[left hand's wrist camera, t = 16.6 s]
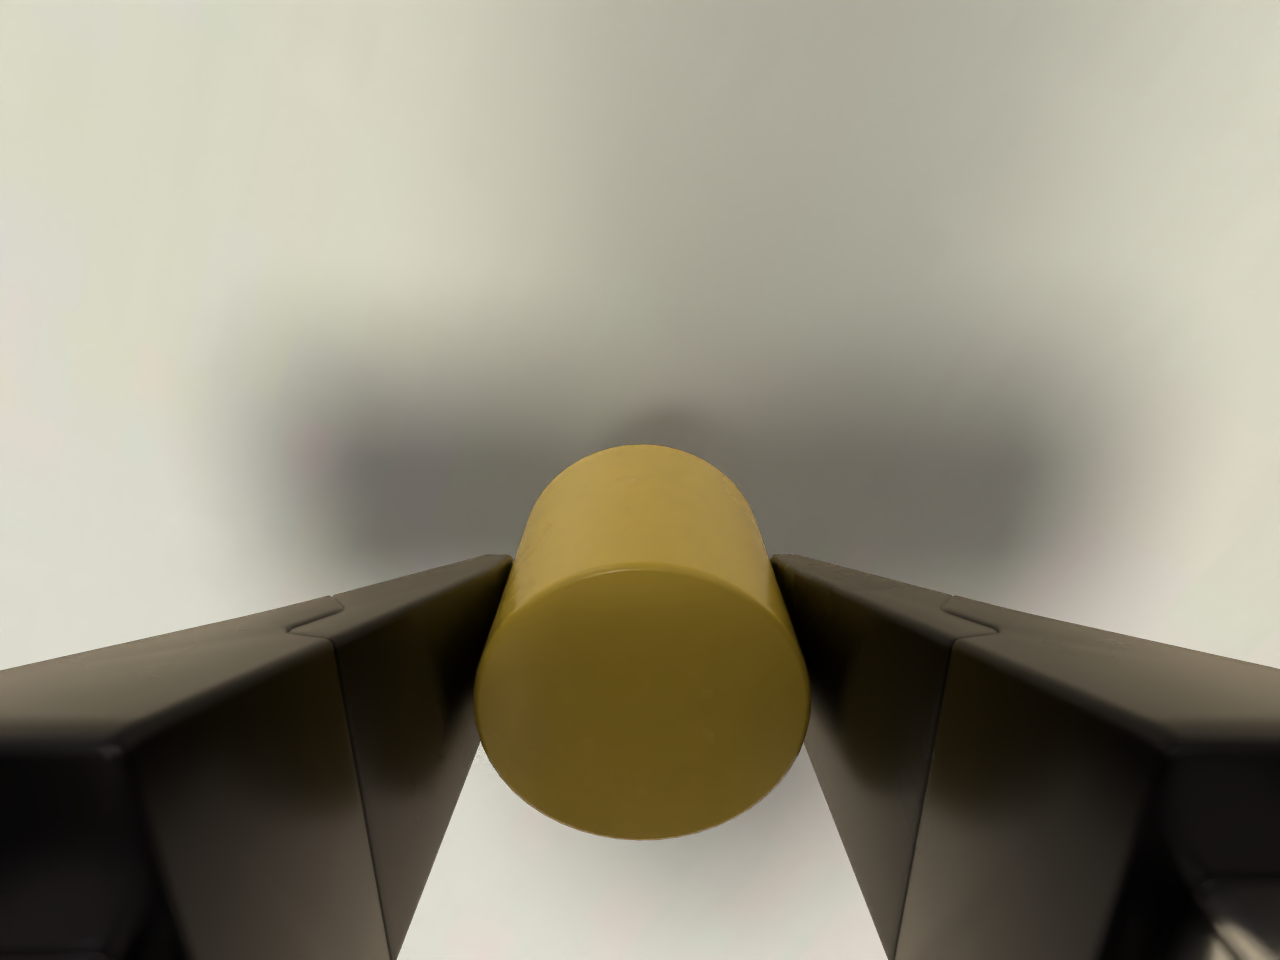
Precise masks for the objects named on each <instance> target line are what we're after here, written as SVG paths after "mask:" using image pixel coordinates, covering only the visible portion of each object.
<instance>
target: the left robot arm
mask: <svg viewBox="0 0 1280 960" xmlns="http://www.w3.org/2000/svg"><path fill="white" fill-rule="evenodd" d="M770 563H771V565H772V568H773V571H774V574H775V577H776V580H777V582H778V585H779V588H780V591H781V594H782V597H783V599H784V602H785V605H786V608H787V611H788V614H789V616H790V619H791V622H792V625H793V628H794V631H795V633H796V636H797V639H798V642H799V645H800V647H801V650H802V653H803V656H804V659H805V662H806V666H807V670H808V673H809V677H810V685H811V694H812V701H811V715H810V720H809V725H808V729H807V733H806V736H805V739H804V745H805V747H806V750H807V752H808V755H809V757H810V760H811V763H812V765H813V768H814V770H815V773H816V775H817V778H818V781H819V783H820V786H821V788H822V791H823V793H824V796H825V799H826V801H827V804H828V806H829V809H830V811H831V814H832V817H833V819H834V822H835V824H836V827H837V829H838V832H839V835H840V837H841V840H842V842H843V845H844V847H845V850H846V853H847V855H848V858H849V860H850V863H851V865H852V868H853V871H854V873H855V876H856V878H857V881H858V883H859V886H860V889H861V891H862V894H863V896H864V899H865V901H866V904H867V907H868V909H869V912H870V914H871V917H872V919H873V922H874V924H875V927H876V930H877V932H878V935H879V937H880V940H881V942H882V945H883V948H884V950H885V953H886V955H887V958H888V960H1280V669H1277V668H1272V667H1268V666H1263V665H1259V664H1254V663H1250V662H1245V661H1241V660H1236V659H1232V658H1227V657H1223V656H1218V655H1214V654H1209V653H1205V652H1200V651H1195V650H1191V649H1186V648H1182V647H1177V646H1173V645H1168V644H1164V643H1159V642H1155V641H1150V640H1146V639H1141V638H1137V637H1132V636H1127V635H1123V634H1118V633H1114V632H1109V631H1105V630H1100V629H1096V628H1091V627H1087V626H1082V625H1078V624H1073V623H1069V622H1064V621H1059V620H1055V619H1050V618H1046V617H1042V616H1037V615H1033V614H1029V613H1025V612H1020V611H1016V610H1012V609H1007V608H1003V607H999V606H995V605H991V604H987V603H983V602H979V601H975V600H971V599H968V598H964V597H960V596H953V597H952V596H951V595H948V594H945V593H941V592H937V591H933V590H929V589H926V588H922V587H918V586H914V585H910V584H906V583H903V582H899V581H895V580H891V579H887V578H884V577H880V576H876V575H872V574H868V573H864V572H861V571H857V570H853V569H849V568H845V567H842V566H838V565H834V564H830V563H826V562H822V561H819V560H815V559H811V558H807V557H803V556H800V555H773V556H772V557H771V559H770ZM512 565H513V559H512V557H511V556H510V555H484V556H480V557H476V558H472V559H468V560H465V561H461V562H457V563H453V564H449V565H446V566H442V567H438V568H434V569H431V570H427V571H423V572H419V573H415V574H412V575H408V576H404V577H400V578H397V579H393V580H389V581H385V582H381V583H378V584H374V585H370V586H366V587H362V588H359V589H355V590H351V591H347V592H344V593H340V594H336V595H333V596H332V597H331V596H325V597H321V598H317V599H313V600H309V601H305V602H301V603H297V604H293V605H289V606H285V607H281V608H277V609H273V610H269V611H265V612H260V613H256V614H252V615H248V616H243V617H239V618H235V619H230V620H226V621H221V622H217V623H212V624H208V625H203V626H199V627H194V628H190V629H185V630H181V631H176V632H172V633H167V634H163V635H158V636H154V637H149V638H145V639H140V640H136V641H131V642H127V643H122V644H118V645H113V646H109V647H104V648H100V649H95V650H91V651H86V652H82V653H77V654H73V655H68V656H64V657H59V658H55V659H50V660H46V661H41V662H37V663H32V664H28V665H23V666H19V667H14V668H10V669H5V670H1V671H0V960H397V957H398V954H399V952H400V949H401V947H402V944H403V941H404V939H405V936H406V934H407V931H408V928H409V926H410V923H411V921H412V918H413V915H414V913H415V910H416V908H417V905H418V902H419V900H420V897H421V895H422V892H423V889H424V887H425V884H426V882H427V879H428V876H429V874H430V871H431V868H432V866H433V863H434V861H435V858H436V855H437V853H438V850H439V848H440V845H441V842H442V840H443V837H444V835H445V832H446V829H447V827H448V824H449V822H450V819H451V816H452V814H453V811H454V809H455V806H456V803H457V801H458V798H459V796H460V793H461V790H462V788H463V785H464V783H465V780H466V777H467V775H468V772H469V770H470V767H471V764H472V762H473V759H474V757H475V754H476V751H477V749H478V746H479V744H480V741H481V740H480V737H479V734H478V731H477V727H476V723H475V716H474V710H473V688H474V682H475V677H476V671H477V668H478V665H479V662H480V659H481V656H482V653H483V650H484V647H485V644H486V641H487V639H488V636H489V633H490V630H491V627H492V624H493V621H494V618H495V615H496V612H497V609H498V606H499V603H500V600H501V597H502V595H503V592H504V589H505V586H506V583H507V580H508V577H509V574H510V571H511V568H512Z"/></svg>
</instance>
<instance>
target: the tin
mask: <svg viewBox="0 0 1280 960" xmlns="http://www.w3.org/2000/svg"><path fill="white" fill-rule="evenodd" d="M811 701H812V694H811V685H810V677H809V673H808V670H807V666H806V662H805V659H804V656H803V653H802V650H801V647H800V645H799V642H798V639H797V636H796V633H795V631H794V628H793V625H792V622H791V619H790V616H789V614H788V611H787V608H786V605H785V602H784V599H783V597H782V594H781V591H780V588H779V585H778V582H777V580H776V577H775V574H774V571H773V568H772V565H771V563H770V560H769V557H768V554H767V551H766V548H765V546H764V543H763V540H762V537H761V534H760V531H759V529H758V526H757V523H756V520H755V517H754V515H753V513H752V511H751V508H750V506H749V504H748V503H747V501H746V499H745V498H744V496H743V495H742V493H741V492H740V490H739V489H738V488H737V487H736V486H735V485H734V483H733V482H732V481H731V480H730V479H729V478H728V477H727V476H725V475H724V474H723V473H722V472H721V471H720V470H718V469H717V468H715V467H714V466H712V465H711V464H710V463H708V462H706V461H705V460H703V459H701V458H699V457H697V456H695V455H693V454H690V453H687V452H684V451H681V450H678V449H674V448H670V447H665V446H659V445H647V444H639V445H625V446H619V447H613V448H609V449H606V450H602V451H599V452H596V453H594V454H591V455H589V456H587V457H584V458H582V459H580V460H579V461H577V462H576V463H574V464H572V465H571V466H569V467H568V468H566V469H565V470H564V471H563V472H561V473H560V474H559V475H558V476H556V477H555V478H554V479H553V481H552V482H551V483H550V484H549V485H548V486H547V487H546V488H545V489H544V491H543V492H542V494H541V495H540V496H539V498H538V499H537V501H536V503H535V505H534V507H533V509H532V511H531V513H530V515H529V518H528V521H527V524H526V527H525V530H524V533H523V536H522V539H521V542H520V545H519V548H518V551H517V554H516V556H515V559H514V562H513V565H512V568H511V571H510V574H509V577H508V580H507V583H506V586H505V589H504V592H503V595H502V597H501V600H500V603H499V606H498V609H497V612H496V615H495V618H494V621H493V624H492V627H491V630H490V633H489V636H488V639H487V641H486V644H485V647H484V650H483V653H482V656H481V659H480V662H479V665H478V668H477V671H476V677H475V682H474V688H473V710H474V716H475V723H476V727H477V731H478V734H479V737H480V740H481V743H482V746H483V748H484V750H485V752H486V754H487V757H488V759H489V761H490V762H491V764H492V765H493V767H494V768H495V770H496V771H497V773H498V774H499V776H500V777H501V778H502V779H503V781H504V782H505V783H506V784H507V785H508V786H509V787H510V788H511V790H512V791H513V792H515V793H516V794H517V795H518V796H519V797H520V798H521V799H523V800H524V801H525V802H526V803H527V804H529V805H530V806H532V807H533V808H535V809H536V810H538V811H539V812H541V813H542V814H544V815H546V816H548V817H549V818H551V819H553V820H555V821H557V822H559V823H561V824H564V825H566V826H569V827H571V828H574V829H577V830H579V831H583V832H586V833H590V834H594V835H597V836H603V837H609V838H615V839H625V840H661V839H669V838H676V837H682V836H686V835H690V834H694V833H698V832H701V831H704V830H707V829H710V828H713V827H716V826H718V825H720V824H723V823H725V822H727V821H729V820H731V819H733V818H735V817H737V816H738V815H740V814H742V813H743V812H745V811H747V810H748V809H750V808H751V807H753V806H754V805H755V804H757V803H758V802H759V801H760V800H762V799H763V798H764V797H766V796H767V795H768V794H769V793H770V792H771V791H772V790H773V789H774V788H775V787H776V786H777V785H778V784H779V782H780V781H781V780H782V779H783V777H784V776H785V775H786V773H787V772H788V771H789V769H790V768H791V766H792V765H793V763H794V761H795V759H796V757H797V756H798V754H799V752H800V749H801V747H802V744H803V742H804V739H805V736H806V733H807V729H808V725H809V720H810V715H811Z"/></svg>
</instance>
